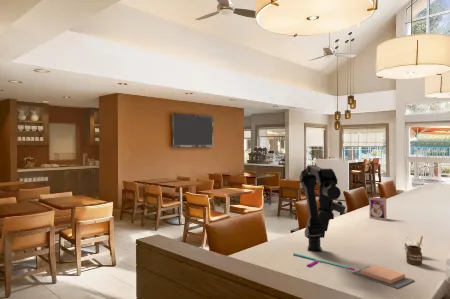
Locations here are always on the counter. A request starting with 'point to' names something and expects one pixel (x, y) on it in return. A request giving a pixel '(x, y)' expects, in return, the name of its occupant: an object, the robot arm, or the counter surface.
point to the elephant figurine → (412, 245)
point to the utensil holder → (414, 254)
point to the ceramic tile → (383, 274)
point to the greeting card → (377, 208)
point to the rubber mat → (396, 284)
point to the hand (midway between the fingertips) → (325, 231)
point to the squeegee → (319, 261)
